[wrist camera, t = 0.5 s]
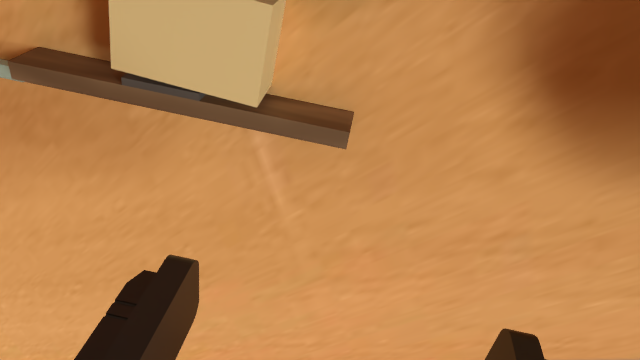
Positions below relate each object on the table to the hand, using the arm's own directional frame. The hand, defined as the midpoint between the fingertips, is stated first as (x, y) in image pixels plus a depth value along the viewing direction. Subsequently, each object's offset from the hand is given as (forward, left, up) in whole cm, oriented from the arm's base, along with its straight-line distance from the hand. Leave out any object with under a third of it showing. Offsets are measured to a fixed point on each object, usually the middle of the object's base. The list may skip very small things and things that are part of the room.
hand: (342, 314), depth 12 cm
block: (0, -11, -20) cm, 23 cm away
